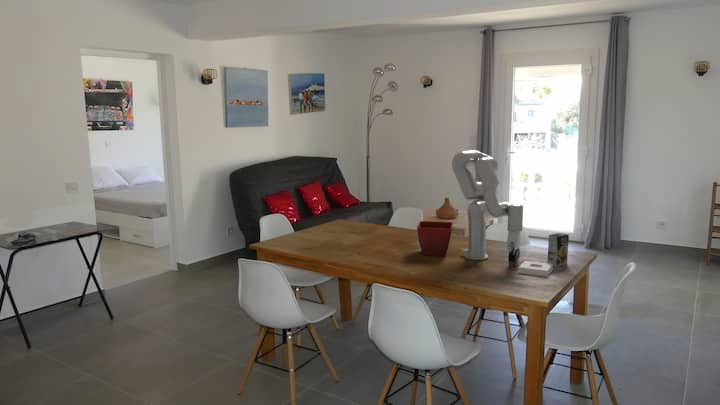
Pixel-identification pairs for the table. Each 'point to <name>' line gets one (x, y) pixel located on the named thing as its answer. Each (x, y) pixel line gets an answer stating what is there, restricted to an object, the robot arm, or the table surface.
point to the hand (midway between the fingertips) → (513, 259)
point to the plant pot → (434, 237)
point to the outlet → (535, 268)
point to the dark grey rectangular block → (515, 259)
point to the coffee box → (558, 249)
